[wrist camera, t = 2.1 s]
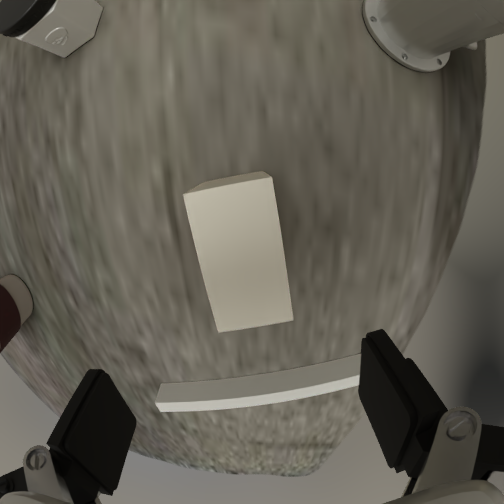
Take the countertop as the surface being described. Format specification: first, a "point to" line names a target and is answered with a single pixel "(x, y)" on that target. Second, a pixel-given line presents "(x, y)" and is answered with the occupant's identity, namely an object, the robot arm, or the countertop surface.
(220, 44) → the countertop surface
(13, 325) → the coffee cup
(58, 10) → the jar
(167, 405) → the rail
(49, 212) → the countertop surface
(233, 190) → the box
